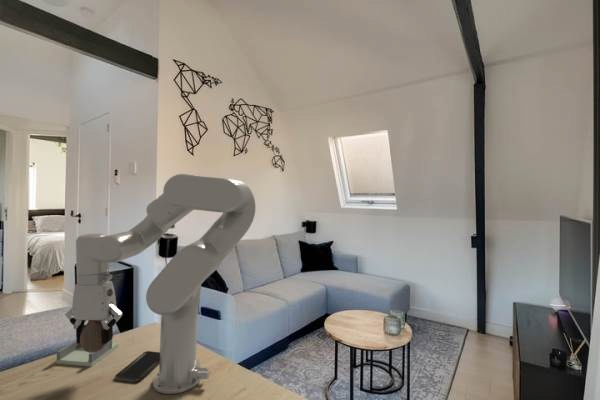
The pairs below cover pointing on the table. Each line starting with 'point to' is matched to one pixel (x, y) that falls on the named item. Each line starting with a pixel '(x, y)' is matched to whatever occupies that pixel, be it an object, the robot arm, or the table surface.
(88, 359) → the grey-green shallow square tray
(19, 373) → the table surface
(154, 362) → the phone
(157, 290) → the robot arm
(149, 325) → the table surface
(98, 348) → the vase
